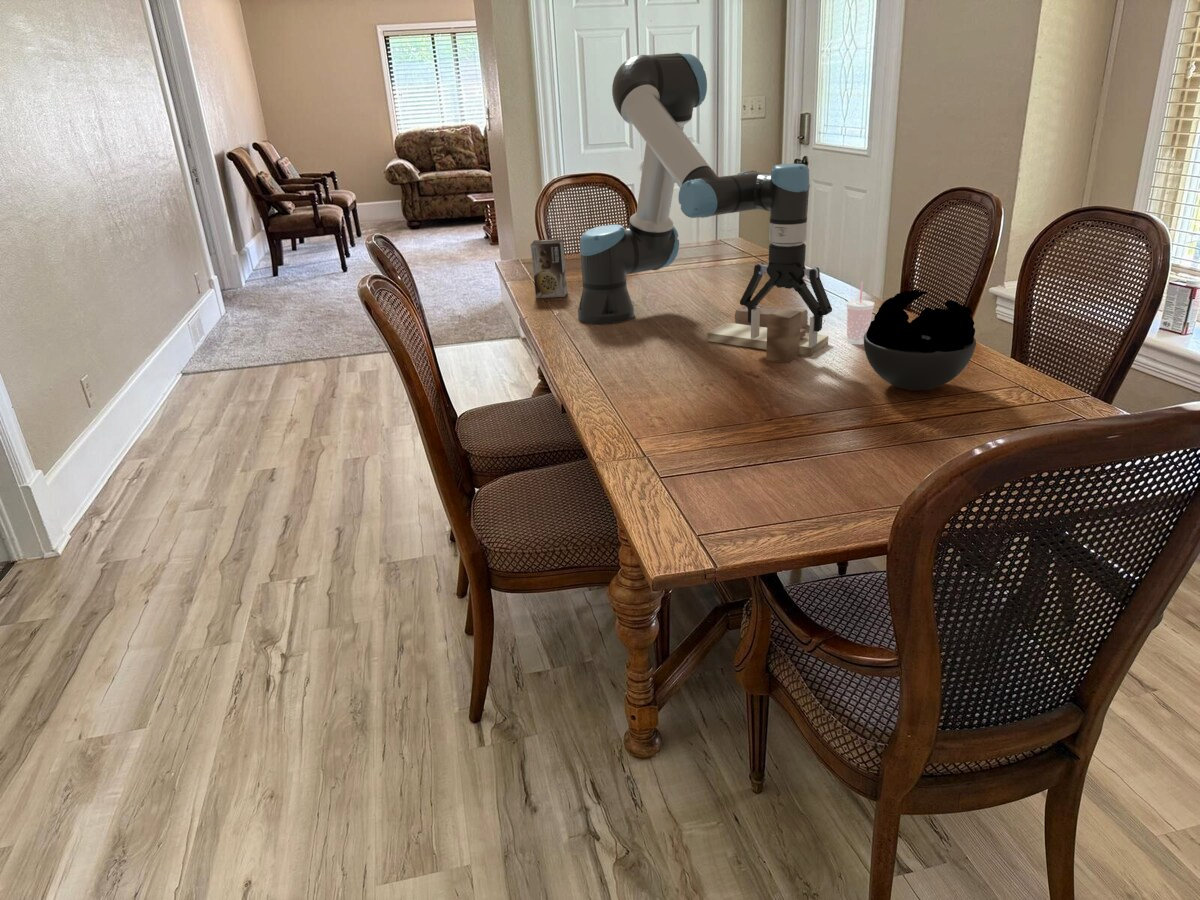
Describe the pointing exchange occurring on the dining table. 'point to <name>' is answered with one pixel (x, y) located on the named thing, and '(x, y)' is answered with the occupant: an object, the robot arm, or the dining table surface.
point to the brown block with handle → (783, 335)
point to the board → (758, 338)
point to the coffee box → (549, 268)
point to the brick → (766, 315)
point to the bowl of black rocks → (919, 343)
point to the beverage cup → (858, 318)
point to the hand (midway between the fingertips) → (783, 341)
